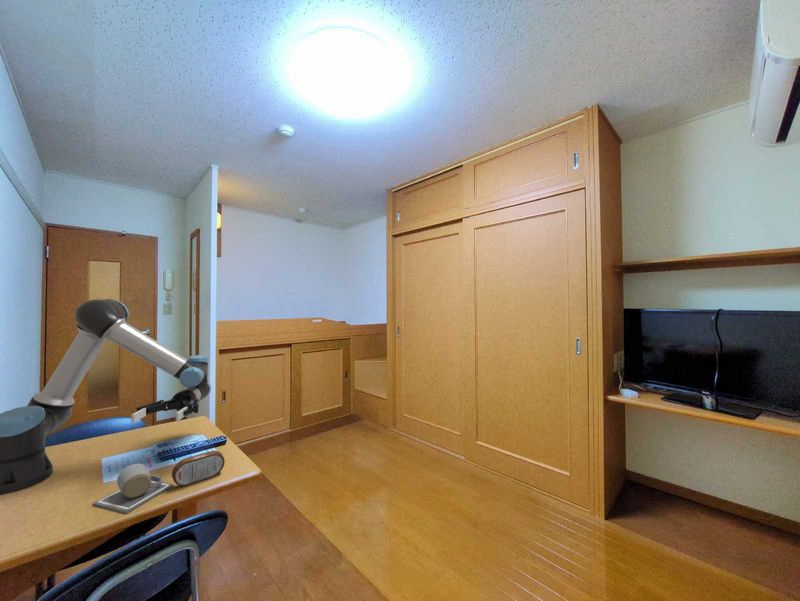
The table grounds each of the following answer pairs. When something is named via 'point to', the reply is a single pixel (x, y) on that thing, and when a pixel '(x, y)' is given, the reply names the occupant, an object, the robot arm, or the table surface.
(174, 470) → the tin
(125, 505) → the card
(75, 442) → the table surface
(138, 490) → the ceramic mug
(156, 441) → the table surface
